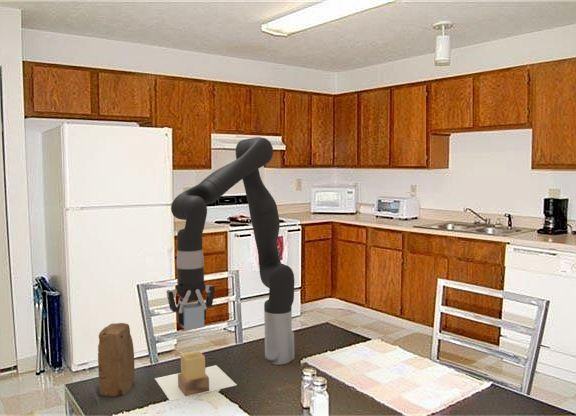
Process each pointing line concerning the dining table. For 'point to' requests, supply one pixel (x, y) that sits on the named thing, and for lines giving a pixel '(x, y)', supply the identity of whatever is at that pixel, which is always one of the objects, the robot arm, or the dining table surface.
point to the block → (115, 360)
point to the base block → (193, 385)
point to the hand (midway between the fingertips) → (191, 323)
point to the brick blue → (193, 316)
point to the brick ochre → (192, 365)
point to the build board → (215, 383)
